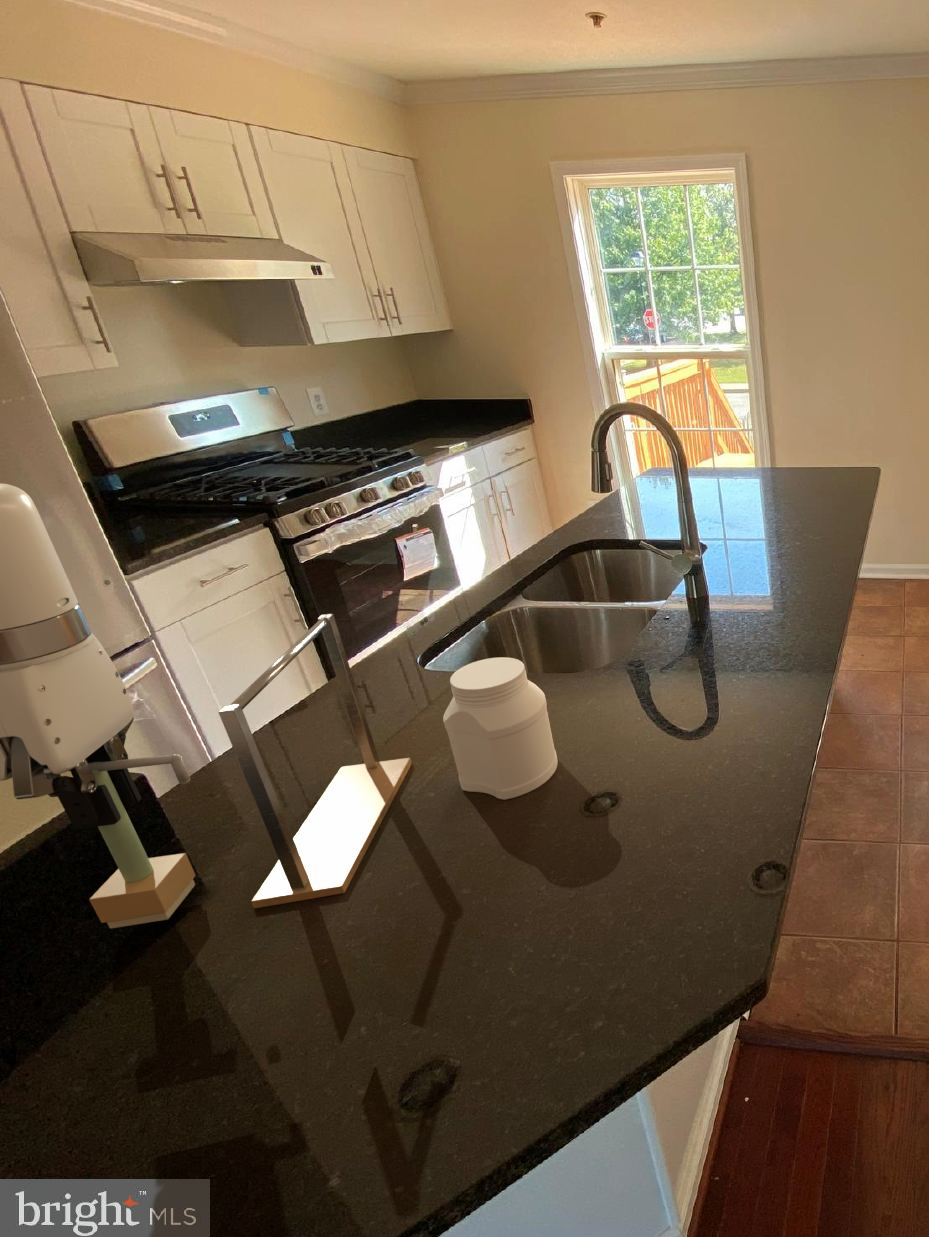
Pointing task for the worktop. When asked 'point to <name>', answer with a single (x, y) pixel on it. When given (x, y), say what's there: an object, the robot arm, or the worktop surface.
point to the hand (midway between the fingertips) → (108, 813)
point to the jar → (499, 729)
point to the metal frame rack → (343, 811)
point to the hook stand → (139, 861)
